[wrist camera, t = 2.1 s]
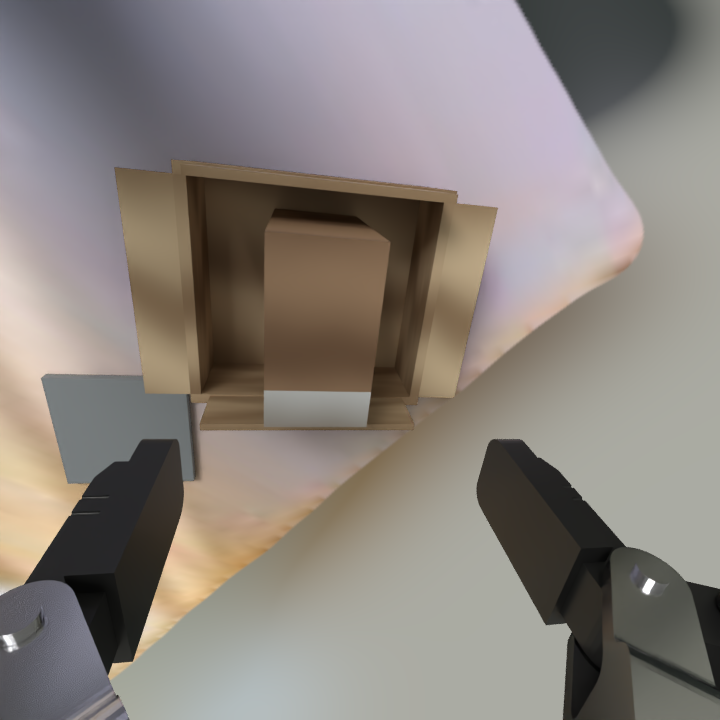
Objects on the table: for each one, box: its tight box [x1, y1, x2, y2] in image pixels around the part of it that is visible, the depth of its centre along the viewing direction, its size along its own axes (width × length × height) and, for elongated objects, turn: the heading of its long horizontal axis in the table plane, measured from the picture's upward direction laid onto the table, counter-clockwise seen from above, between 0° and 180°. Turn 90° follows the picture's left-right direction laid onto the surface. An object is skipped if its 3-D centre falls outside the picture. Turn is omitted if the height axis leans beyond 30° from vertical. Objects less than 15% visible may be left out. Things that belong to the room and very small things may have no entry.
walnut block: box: [264, 208, 391, 427], centre depth 22 cm, size 9×5×10 cm, turn 174°
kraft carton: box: [114, 159, 498, 430], centre depth 24 cm, size 13×19×8 cm
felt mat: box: [41, 374, 195, 484], centre depth 30 cm, size 9×9×1 cm
